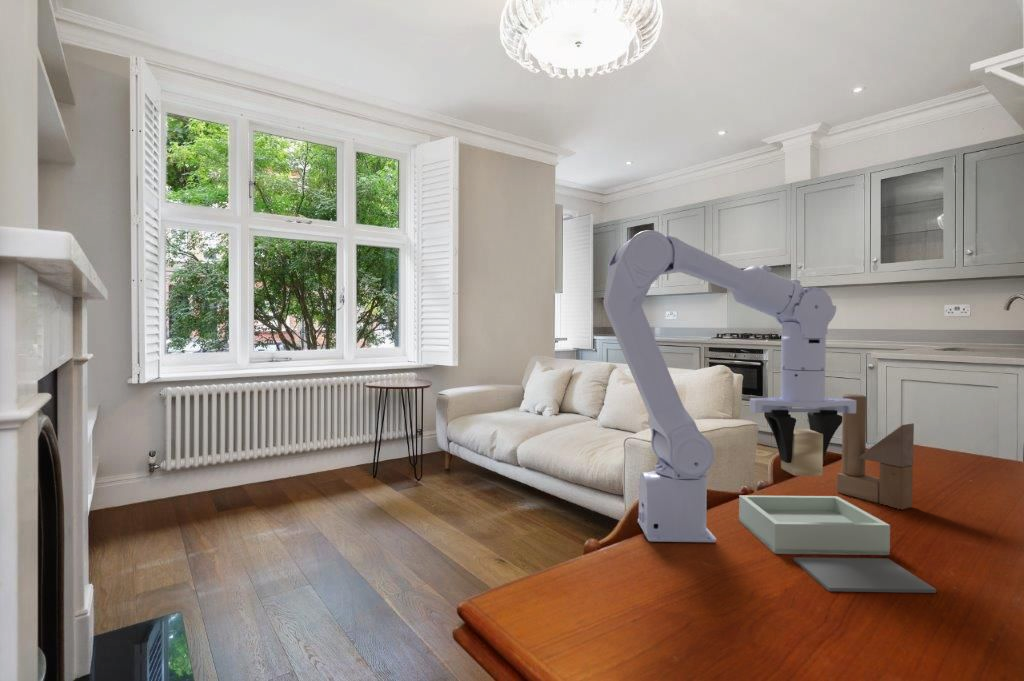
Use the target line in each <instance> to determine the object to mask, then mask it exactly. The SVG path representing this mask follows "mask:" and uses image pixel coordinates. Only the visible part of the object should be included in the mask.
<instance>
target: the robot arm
mask: <svg viewBox="0 0 1024 681" xmlns="http://www.w3.org/2000/svg"><path fill="white" fill-rule="evenodd" d="M771 271H772V267H771V266H768V265H765V264H763V265H759V266H757V265H751V266H749V267H747V268H744V269H742V268H740V267H738V266H734V265H733V264H731V263H729V262H727V261H724V260H722V259H720V258H718V257H716V256H714V255H712V254H710V253H707V252H705V251H704V250H701V249H699V248H697V247H694V246H692V245H691V244H688V243H687V242H684V241H683V240H681V239H679V238H678V237H675V236H671V235H666V236H665V234H663V233H661V232H659V231H656V230H651V229H650V230H649V229H647V230H646V229H645V230H643V231H639V232H638V233H636V234H635V235H634V236H633V237H632V238H631V239H629V240H628V241H625V242H623V243H621V244H620V245H619V246H618V247H617V248H616V250H615V251H614V252H613V255H612V257H611V259H610V260H609V262H608V263H607V277H606V283H605V284H606V285H605V291H604V295H603V296H604V297H603V303H602V304H603V307H604V311H605V313H606V316H607V318H608V320H609V323H610V325H611V328H612V329H613V332H614V334H615V337H616V339H617V342H618V344H619V347H620V349H621V352H622V354H623V356H624V359H625V362H626V364H627V367H628V368H629V371H630V374H631V375H632V379H633V380H634V382H635V386H636V388H637V390H638V392H639V395H640V398H641V399H642V401H643V404H644V406H645V409H646V411H647V413H648V418H647V423H648V426H649V428H650V432H651V438H650V441H651V442H650V443H651V448H652V452H653V453H654V454H655V456H656V457H657V462H656V464H655V468H654V469H655V470H652V471H644V472H640V474H639V478H638V518H637V523H638V524H639V526H640V528H641V529H642V532H643V534H644V536H645V537H646V539H647V540H648V542H653V543H654V542H657V543H658V542H662V543H663V542H668V543H672V542H673V543H675V542H676V543H716V542H717V538H716V537H715V535H714V534H713V533H712V532H711V531H710V530H709V528H708V527H707V502H708V501H707V490H708V489H707V488H708V487H707V486H708V485H707V482H708V481H707V479H708V476H707V474H708V473H707V472H708V471H709V470H710V468H711V467H712V465H713V463H714V460H715V450H714V447H713V444H712V442H711V441H710V440H709V439H708V437H706V436H705V435H704V434H703V433H701V432H700V430H699V428H698V426H697V424H696V422H695V419H694V418H693V417H692V416H691V415H690V413H689V412H688V411H687V409H686V408H685V406H684V405H683V402H682V400H681V398H680V394H679V392H678V391H677V388H676V385H675V383H674V380H673V378H672V376H671V374H670V371H669V369H668V366H667V364H666V362H665V359H664V357H663V355H662V352H661V350H660V347H659V345H658V342H657V340H656V337H655V335H654V333H653V330H652V327H651V325H650V323H649V321H648V318H647V316H646V313H645V311H644V308H643V302H644V300H645V298H646V296H647V295H648V292H649V290H650V289H651V286H652V285H653V284H654V282H655V281H656V280H657V279H658V278H659V277H660V276H662V275H668V274H677V273H678V274H679V273H683V274H685V275H688V276H690V277H692V278H693V277H694V278H696V279H698V280H702V281H705V282H707V283H710V284H712V285H716V286H719V287H721V288H724V289H726V290H730V291H731V295H732V297H733V299H734V300H735V302H737V303H738V304H741V305H743V306H745V307H748V308H751V309H754V310H755V311H758V312H760V313H764V314H766V315H768V316H770V317H773V318H774V319H775V320H776V321H777V323H778V324H780V326H781V341H780V342H781V347H780V348H781V350H780V351H781V352H780V353H781V354H780V355H781V357H780V361H781V362H780V396H779V397H778V396H775V397H773V396H772V397H757V398H754V397H751V398H749V412H751V413H755V414H762V413H763V415H764V418H765V420H766V421H767V424H768V425H769V428H770V429H771V432H772V434H773V437H774V439H775V443H776V446H777V450H778V455H779V460H780V461H781V460H782V461H784V462H786V463H791V461H792V440H793V432H794V429H795V427H796V423H797V419H796V417H792V415H791V414H790V413H807V419H808V425H809V429H810V430H813V431H815V432H818V433H821V434H823V463H824V461H825V458H826V454H827V452H828V448H829V446H830V443H831V441H832V438H833V437H834V435H835V433H836V431H837V430H838V428H840V426H842V420H843V415H840V414H838V413H842V414H843V413H856V400H852V399H843V398H835V397H834V398H832V397H826V353H827V352H826V349H827V347H826V346H827V343H826V341H827V340H826V339H827V335H828V327H829V324H830V323H831V322H832V320H833V319H834V317H835V314H836V312H837V306H836V305H834V304H833V301H832V299H831V296H830V295H829V294H828V292H827V291H825V290H824V289H822V288H820V287H817V286H810V287H803V286H802V284H801V283H802V282H801V281H800V280H798V279H796V278H791V279H789V278H787V277H784V276H781V275H778V274H776V273H774V272H771Z"/></svg>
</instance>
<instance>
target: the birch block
mask: <svg viewBox="0 0 1024 681" xmlns="http://www.w3.org/2000/svg"><path fill="white" fill-rule="evenodd" d="M823 464H824V462H823V434H821V433H818V432H815V431H813V430H810V428H794V432H793V440H792V461H791V463H786V462H784V461H782V460H780V469H782V470H784V471H785V472H787V473H789V474H791V475H793V476H801V477H802V476H805V477H807V476H810V477H812V476H816V477H817V476H819V477H822V476H823V470H824V469H823V468H824V466H823Z"/></svg>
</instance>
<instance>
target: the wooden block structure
mask: <svg viewBox="0 0 1024 681" xmlns="http://www.w3.org/2000/svg"><path fill="white" fill-rule="evenodd" d="M842 399H852V400H856V413H842V423H841V426H842V427H841V428H842V432H841V433H842V434H841V436H842V437H841V472H838V473H836V492H837V493H839V494H842V495H846V496H849V497H853V498H857V499H860V498H861V499H862V500H864V499H865V500H864V501H868V500H869V501H868V502H871V501H873V503H875V502H876V503H875V504H879V505H881V504H884V505H888V506H890V507H889V508H892V507H893V509H895V508H897V509H896V510H899V509H901V510H902V511H903V510H905V509H906V510H907V509H909V508H912V507H913V488H914V487H913V482H914V480H913V478H914V477H913V474H914V466H913V465H914V442H915V441H914V437H915V436H914V435H915V434H914V429H915V427H914V426H915V424H914V423H908V424H906V423H905V424H901V425H900V426H899V427H897V428H896V429H894V430H893V431H891V432H890V433H889V434H887V436H885V437H883V438H881V440H880V441H878V442H877V443H875V444H874V445H873V446H871V447H870V448H868V449H867V450H866V448H867V445H866V444H867V443H866V441H867V438H866V437H867V436H866V435H867V434H866V433H867V395H863V394H854V393H852V394H851V393H846V394H843V396H842ZM866 461H870V462H875V463H879V478H878V477H877V476H876V477H875V476H871V475H867V474H866ZM861 499H860V500H861ZM884 505H883V506H884ZM888 506H887V507H888ZM901 510H900V511H901Z"/></svg>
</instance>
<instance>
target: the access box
mask: <svg viewBox="0 0 1024 681" xmlns="http://www.w3.org/2000/svg"><path fill="white" fill-rule="evenodd" d="M738 496H739V498H738V506H739V507H738V521H739V522H740V523H741V524H742V525H743V526H744V527H745V528H746V529H748V531H749V532H750V533H752V535H754V536H755V538H757V539H758V540H759V541H760V542H762V544H764V545H765V546H766V547H767V548H768V549H769V550H770V551H771V552H772V553H773V554H775V555H776V554H778V555H780V554H782V555H783V554H785V555H842V556H843V555H846V556H847V555H851V556H852V555H853V556H854V555H856V556H860V555H861V556H862V555H864V556H890V552H891V550H890V549H891V544H890V543H891V524H888V523H887V522H885V521H884V520H881V519H880V518H878V517H876V516H874V515H872V514H871V513H869V512H867V511H865V510H863V509H861V508H859V507H858V506H856V505H854V504H852V503H850V502H848V501H847V500H845V499H843V498H842V497H840V496H837V495H835V496H834V495H753V494H751V495H747V494H746V495H744V494H743V495H741V494H740V495H738Z"/></svg>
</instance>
